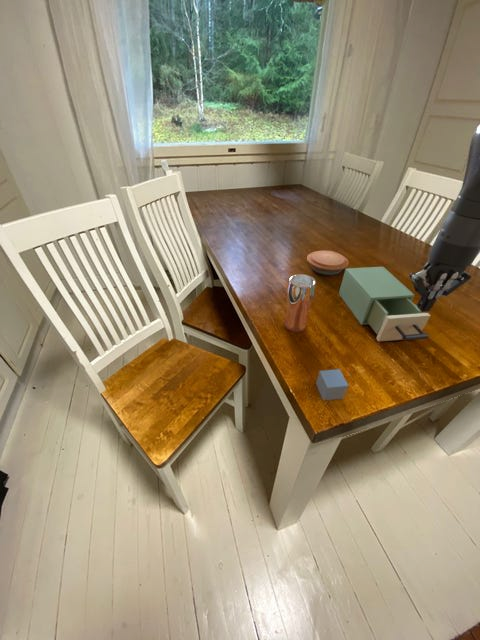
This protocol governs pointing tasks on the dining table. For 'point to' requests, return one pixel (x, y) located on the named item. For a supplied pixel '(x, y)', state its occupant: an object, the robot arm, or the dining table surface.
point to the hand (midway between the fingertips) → (422, 309)
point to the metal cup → (299, 301)
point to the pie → (327, 262)
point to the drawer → (397, 320)
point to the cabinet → (369, 289)
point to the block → (331, 384)
